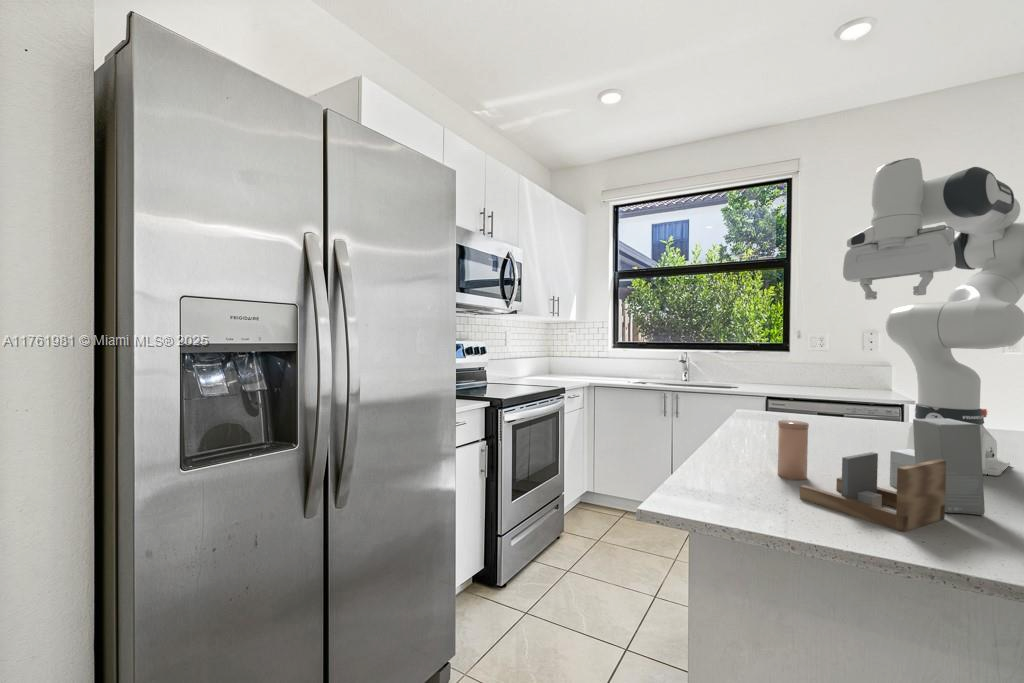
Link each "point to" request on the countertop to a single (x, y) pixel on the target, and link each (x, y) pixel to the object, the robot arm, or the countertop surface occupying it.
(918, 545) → the countertop surface
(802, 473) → the jar
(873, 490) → the pusher
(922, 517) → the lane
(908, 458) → the skincare box
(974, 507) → the skincare box
